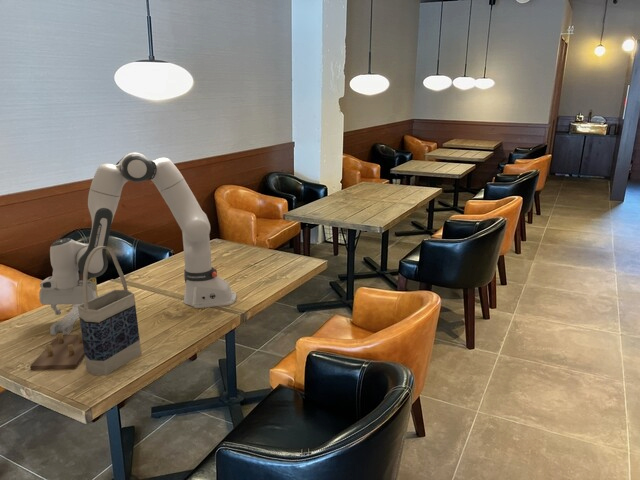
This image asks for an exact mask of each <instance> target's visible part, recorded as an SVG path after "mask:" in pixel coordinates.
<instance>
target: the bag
mask: <svg viewBox="0 0 640 480" xmlns="http://www.w3.org/2000/svg"><path fill="white" fill-rule="evenodd" d="M104 247H106V246H98V247H96V248H94V249H93V250H92V251H91V252H90V254H89V255H88V257H87V259H86V262H85V266H84V272H83V298H84V303H83V304H80V305H78V311H79V318H78V319H79V323H80V332H81V333H82V341H83V348H84V356H85V357H84V362H85V369H86V371H87V372H89V374H90V375H91V376H108V375H109V374H111V373H113V372H115V371H116V370H117V369H119V368H120V367H121V368H122V366H124V365H126V364H128V363H129V362H130V361H132V360H134V359H135V358H137V357H138V356H141V355H142V348H141V341H140V332H139V323H138V315H137V307H136V306H137V305H136V300H135V299H136V298H135V293H134V292H132V291H130V290H129V289H128V285H127V281H126V278H125V274H124V273H123V271H122V268H121V266H120V263H119V261H118V258H117V255H116V252H115V251H114V249H112V248H111V247H110V246H107V248H105V249H106V251H109V254H110V256H111V258H112V262H113V264H114V266H115V268H116V270H117V273H118V275H119V278H120V281H121V285H122V288H123V289H112V290H111V291H108V292H105V293H104V294H101V295H99V296H98V297H96V298H94V299H92V300H90V301H88V292H87V276H88V268H89V264H90V261H91V258H92V257H93V255H94V254H95V252H96V251H97V250H100V249H104Z"/></svg>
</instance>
